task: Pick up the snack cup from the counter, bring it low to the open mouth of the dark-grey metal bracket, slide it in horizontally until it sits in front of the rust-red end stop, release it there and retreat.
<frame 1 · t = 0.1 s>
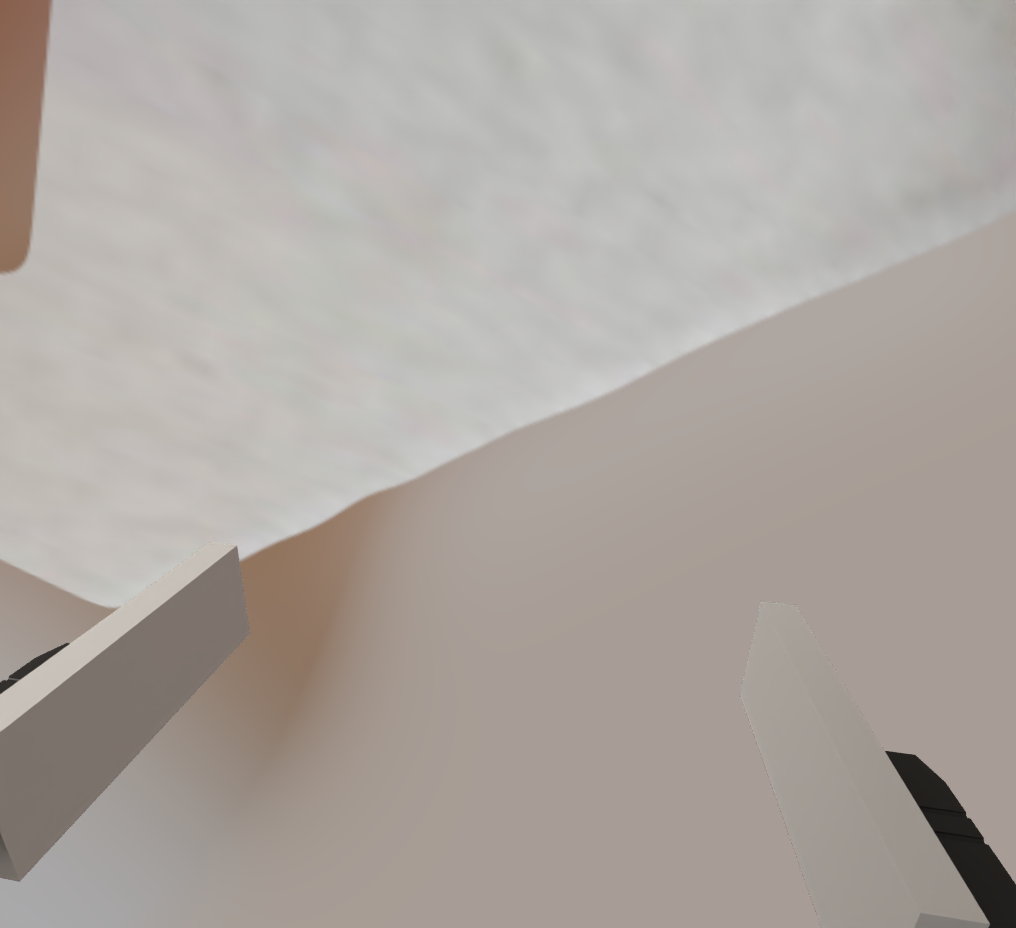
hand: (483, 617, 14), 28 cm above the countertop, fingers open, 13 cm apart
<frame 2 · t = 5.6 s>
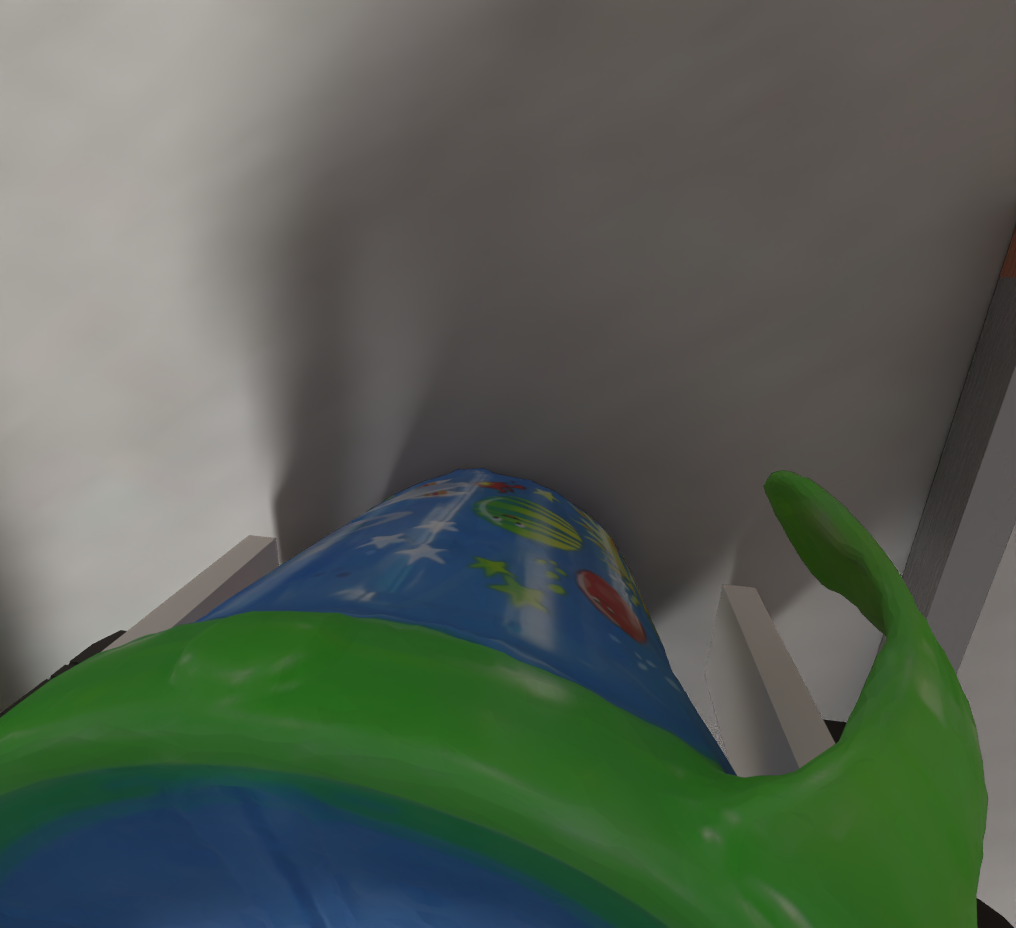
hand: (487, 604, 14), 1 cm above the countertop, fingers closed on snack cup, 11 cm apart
snack cup: (493, 586, 15), on the countertop, touching gripper
when the fingers open (3 cm above the countertop, at t = 14.9 s): snack cup drops 2 cm, resting in bracket.
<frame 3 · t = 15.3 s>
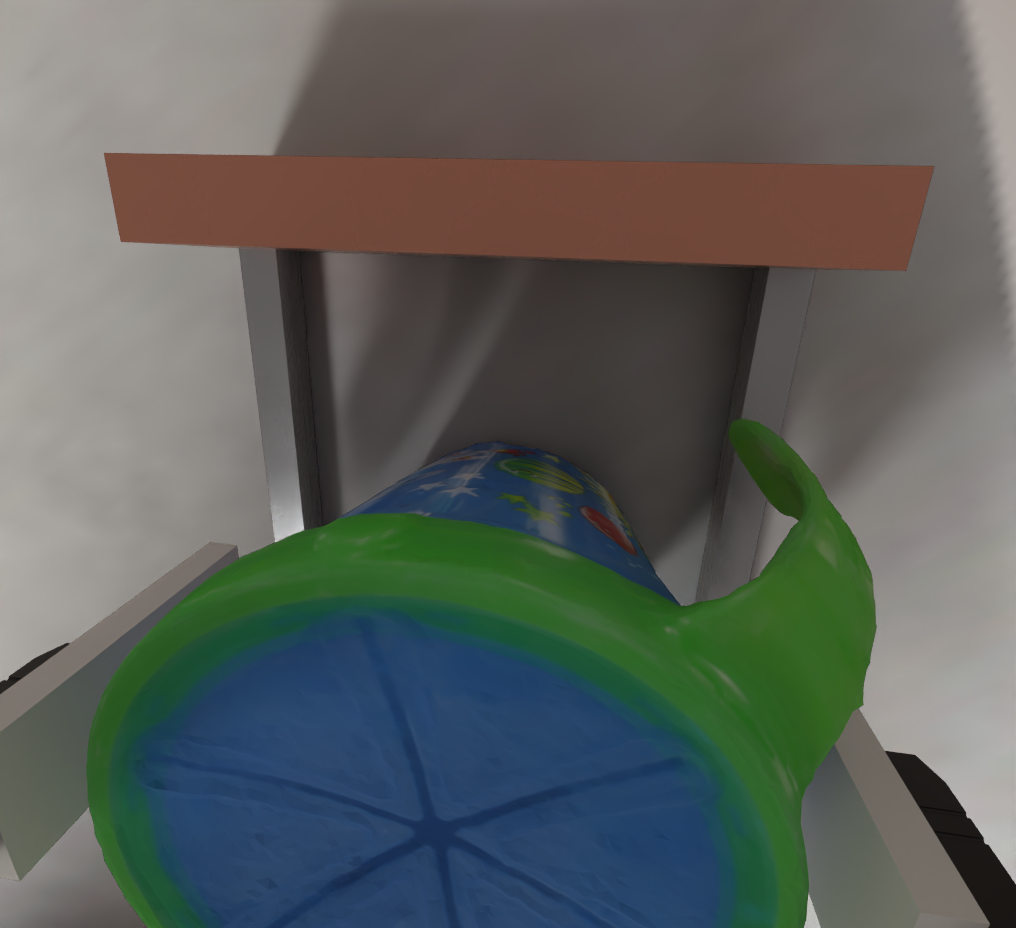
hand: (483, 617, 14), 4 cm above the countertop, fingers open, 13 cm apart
snack cup: (511, 546, 17), resting in bracket
bracket: (504, 547, 17), on the countertop
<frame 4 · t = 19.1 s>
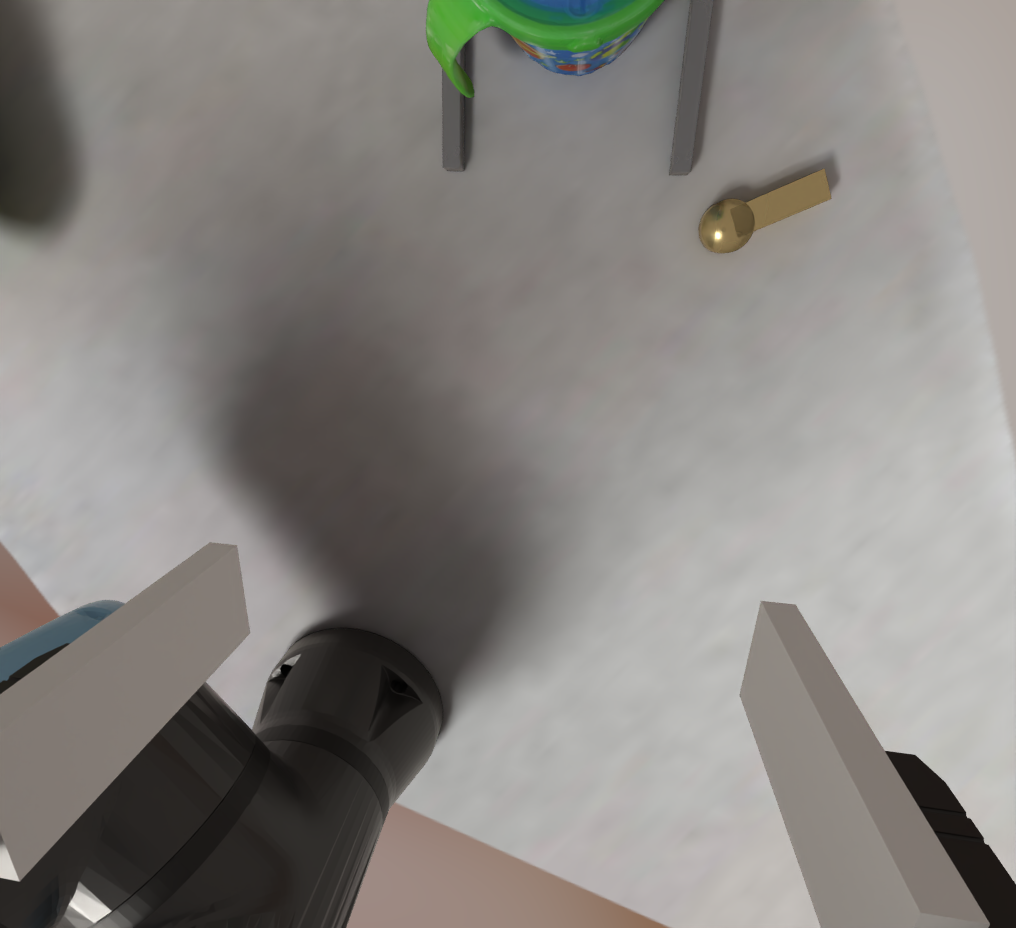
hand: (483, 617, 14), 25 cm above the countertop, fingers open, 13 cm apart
brass key: (773, 206, 31), on the countertop
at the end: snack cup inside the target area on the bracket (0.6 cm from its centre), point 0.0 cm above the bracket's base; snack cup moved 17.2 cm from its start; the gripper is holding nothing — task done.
